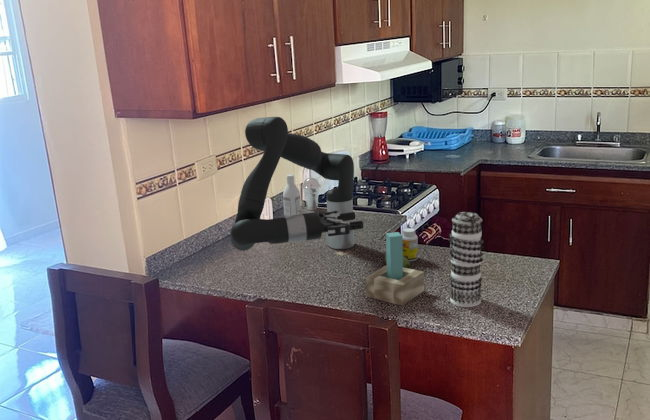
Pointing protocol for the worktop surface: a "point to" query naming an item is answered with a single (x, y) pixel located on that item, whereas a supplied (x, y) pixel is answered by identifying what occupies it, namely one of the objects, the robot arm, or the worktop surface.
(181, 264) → the worktop surface
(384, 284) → the socket block
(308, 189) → the cup with straw
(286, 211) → the bath foam
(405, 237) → the supplement bottle
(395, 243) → the peg
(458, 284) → the decorative candle
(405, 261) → the pear
